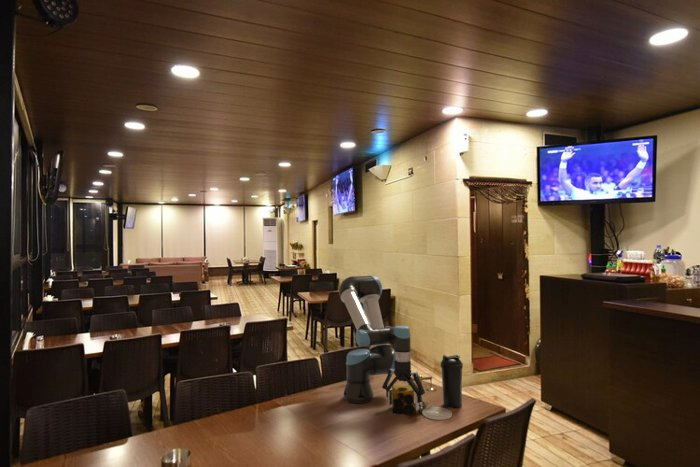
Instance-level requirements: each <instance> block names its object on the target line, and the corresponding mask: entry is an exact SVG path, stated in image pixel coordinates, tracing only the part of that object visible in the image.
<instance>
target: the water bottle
mask: <svg viewBox="0 0 700 467" xmlns="http://www.w3.org/2000/svg"><path fill="white" fill-rule="evenodd" d="M460 358H461V356H460V355H458V354H455V355H449V356H448V355H445V354H443V355H442V359H441V361H440V368H441V384H442V387H441V388H442V404H443V406H444V408H447V409H460V408H462V407H463V406H462V403H463V401H462V400H463V398H462V396H463V366H464V363H463V362H462V360H460Z"/></svg>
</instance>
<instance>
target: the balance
mask: <svg viewBox="0 0 700 467" xmlns="http://www.w3.org/2000/svg"><path fill="white" fill-rule="evenodd" d="M411 378H412V380H413V382H415V380H414V378H413V377H411ZM418 378H419V380H420V382H421V384H422V385H423V381H428V380H429V383H430V386H426V387H425V391H427V392H437V388H436V387H434V386H433V385H432V379H433V376H422V375H421V374H418ZM408 386H410V385H409V384H408ZM414 396H416V393H415V392H414ZM422 401H423V402H424V403H425V405H426V406H427V405H428V404H429V402H428V401H424V400H423V395H421V402H422Z"/></svg>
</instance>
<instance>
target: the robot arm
mask: <svg viewBox="0 0 700 467" xmlns="http://www.w3.org/2000/svg"><path fill="white" fill-rule="evenodd" d="M382 286H383V285H382V282H381V280H380V278H378V277H377V276H375V275H357V276H356V275H355V276H354V275H353V276H348V277H346V278H345V279H344V280H343V281H342V282H341V283H340V285H339V288H338V295H339V298H340V300H341V302H342V303H344V305H345V308H346V309H347V312H348V313H349V316H350V318H351V321H352V324H354V326H355V327H354V328H355V329H356V331H355V335H354V336H355V337H354V338H355V342H356V344H357V346H359V347H369V346H370V347H369V349H367V348H356V349H353V350H350V351H349V352H348V353H347V355H346V362H345V365H346V384H345V388H344V390H343V393H342V395H343V397H342V398H343V400H344V401H345V402H346V403H351V404H366V403H369V402H371V401H373V400H374V398H375V396H374V391H373V388H372V384H371V377H372V376H379V375H387V376H386V378H385V380H384V382H383V385H382V387H381V388H382V389H383V390H385V393H386V398H387V406H389V407H390V406H391V405H392V386H395V384H396V382H398V381H399V382H403V383H405V382H407V384H408V386H409V385H410V386H411V387H412V389H413V390H414V393H415V395H414V401H415V405H414V407H415V412H416V411H419V410H420V406H419V403H420V402H421V395H422V396H423V395H424V394H425V393H426V390H425V389H424V387H423V383H422V384H421V382H420V380H419V378H418V375H419V373H418V371H415V372H412V370H411V369H412V362H411V359H412V356H411V354H412V353H411V352H412V351H411V336H412V335H411V331H410V330H411V329H410V327H409V326H407V325H395V326H390V325H388V326H385V325H384V321H383V318H382V312H381V308H380V305H379V300H380V298H381V296H382V293H383V287H382ZM391 344H392V345H393V348H394V349H393V348H392V345H391ZM393 375H395V377H394V378H393V379H392V381H391V378H392V376H393ZM412 378H414V380H415V381H413V380H412ZM390 381H391V382H390Z"/></svg>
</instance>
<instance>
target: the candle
mask: <svg viewBox="0 0 700 467" xmlns="http://www.w3.org/2000/svg"><path fill="white" fill-rule="evenodd" d="M391 390H392V404H391V405H392V406H391V409H392V415H415V414H416V406H415V405H414V401H415V395H414V393H415V392H414V390H413V389H412V387H411V386H409V385H393V386H392V387H391Z"/></svg>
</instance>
